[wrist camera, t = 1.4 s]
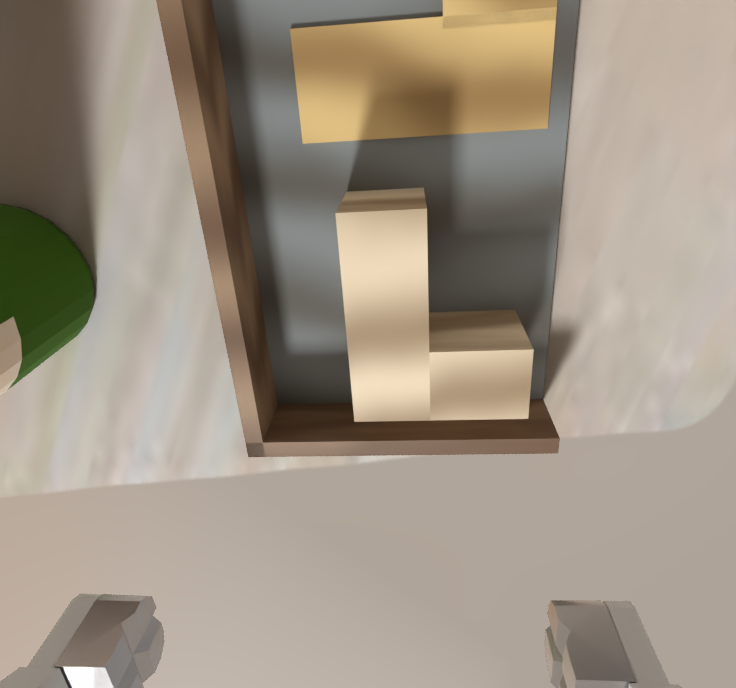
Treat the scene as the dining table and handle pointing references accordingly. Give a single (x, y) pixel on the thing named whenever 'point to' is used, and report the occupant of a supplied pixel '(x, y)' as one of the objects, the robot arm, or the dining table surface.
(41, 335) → the wine bottle
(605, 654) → the robot arm
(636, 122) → the dining table surface
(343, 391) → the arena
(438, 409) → the oak L block
